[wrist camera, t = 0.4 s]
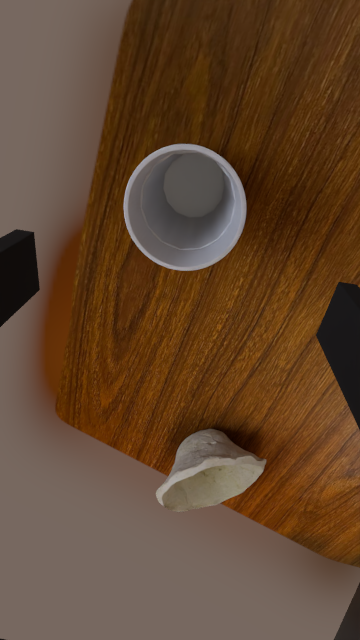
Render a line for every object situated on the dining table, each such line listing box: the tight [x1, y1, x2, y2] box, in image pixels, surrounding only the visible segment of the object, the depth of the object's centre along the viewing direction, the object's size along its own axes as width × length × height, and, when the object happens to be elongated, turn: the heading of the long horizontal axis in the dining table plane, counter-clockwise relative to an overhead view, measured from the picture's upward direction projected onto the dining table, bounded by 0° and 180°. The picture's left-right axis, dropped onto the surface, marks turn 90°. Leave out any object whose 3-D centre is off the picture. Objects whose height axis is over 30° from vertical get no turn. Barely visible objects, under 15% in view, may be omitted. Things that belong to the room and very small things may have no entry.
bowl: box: [156, 429, 267, 512], centre depth 46 cm, size 15×14×10 cm
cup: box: [124, 144, 246, 271], centre depth 27 cm, size 8×8×12 cm
